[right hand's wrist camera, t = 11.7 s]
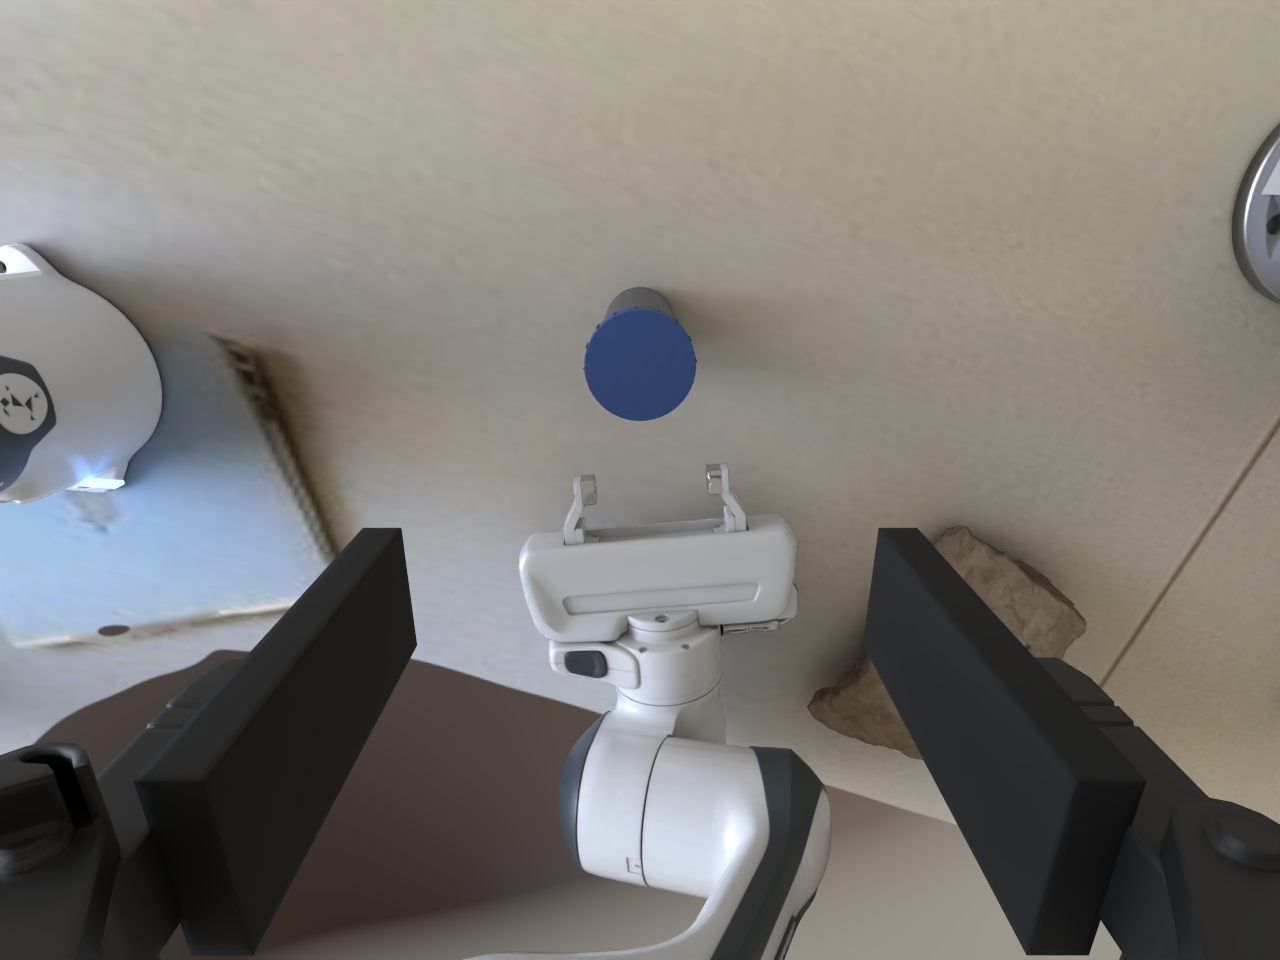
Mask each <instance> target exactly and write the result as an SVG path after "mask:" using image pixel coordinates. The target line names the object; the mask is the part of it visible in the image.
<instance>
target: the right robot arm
mask: <svg viewBox="0 0 1280 960" xmlns="http://www.w3.org/2000/svg"><path fill="white" fill-rule="evenodd" d="M1232 240H1233V247H1234V252H1235V256H1236V259H1237V262H1238V264H1239V267H1240V269H1241V271H1242V273H1243V274H1244V276H1245V277H1246V279H1247V280H1248V282H1249V283H1250V284H1251V285H1252V286H1253V287H1254V288H1255V289H1256V290H1257V291H1258V292H1260V293H1261V294H1262V295H1264V296H1265V297H1267V298H1269V299H1270V300H1272V301H1275V302H1277V303H1279V304H1280V124H1279V125H1278V126H1277V127H1276V128H1275V129H1274V130H1273V132H1272V133H1271V134H1270V135H1269V136H1268V137H1267V139H1266V140H1265V142H1264V143H1263V144H1262V146H1261V147H1260V148H1259V150H1258V152H1257V153H1256V155H1255V156H1254V158H1253V160H1252V161H1251V163H1250V165H1249V167H1248V169H1247V171H1246V173H1245V176H1244V178H1243V180H1242V183H1241V185H1240V188H1239V191H1238V194H1237V198H1236V202H1235V206H1234V212H1233V220H1232ZM416 646H417V641H416V634H415V626H414V619H413V612H412V604H411V597H410V589H409V582H408V574H407V567H406V560H405V552H404V545H403V537H402V530H401V528H362V530H361V531H360V532H359V533H358V534H357V535H356V536H355V537H354V538H353V540H352V541H351V542H350V543H349V544H348V545H347V546H346V547H345V548H344V549H343V551H342V552H341V553H340V554H339V555H338V556H337V557H336V558H335V559H334V560H333V562H332V563H331V564H330V565H329V566H328V567H327V568H326V569H325V570H324V571H323V573H322V574H321V575H320V576H319V577H318V578H317V579H316V580H315V581H314V582H313V584H312V585H311V586H310V587H309V588H308V589H307V590H306V591H305V592H304V593H303V595H302V596H301V597H300V598H299V599H298V600H297V601H296V602H295V603H294V604H293V606H292V607H291V608H290V609H289V610H288V611H287V612H286V613H285V614H284V616H283V617H282V618H281V619H280V620H279V621H278V622H277V623H276V624H275V625H274V627H273V628H272V629H271V630H270V631H269V632H268V633H267V634H266V635H265V636H264V638H263V639H262V640H261V641H260V642H259V643H258V644H257V645H256V646H255V647H254V649H253V650H252V651H251V652H250V653H249V654H248V655H247V656H246V657H245V658H244V660H222V661H220V662H219V663H217V664H216V665H214V666H212V667H211V668H209V669H207V670H206V671H204V672H203V673H201V674H199V675H198V676H196V677H194V678H193V679H191V680H190V681H189V682H188V683H187V684H186V685H185V686H184V687H183V688H182V689H181V690H180V691H179V692H178V693H177V694H176V695H175V696H174V697H173V698H172V699H171V700H170V701H169V702H168V703H167V708H166V709H161V710H160V711H159V712H158V713H157V714H156V715H155V716H154V717H153V719H151V721H150V722H149V723H148V724H147V728H146V729H142V730H141V731H140V732H139V733H138V734H137V735H136V736H135V737H134V738H133V739H132V740H131V741H130V742H129V743H128V744H127V745H126V746H125V747H124V748H123V749H122V750H121V751H120V752H119V753H118V754H117V755H116V756H115V757H114V758H113V759H112V760H111V761H110V762H109V763H108V764H107V765H106V766H105V767H104V768H103V769H102V770H101V771H100V772H99V773H98V774H97V775H96V776H95V774H94V772H93V769H92V766H91V763H90V760H89V758H88V755H87V752H86V751H85V750H84V749H82V748H81V747H79V746H78V745H76V744H75V743H65V742H48V743H42V744H37V745H31V746H25V747H23V748H20V749H17V750H14V751H11V752H8V753H5V754H2V755H0V960H161V959H160V957H159V954H160V952H161V950H162V949H163V947H164V946H165V944H166V943H167V941H168V940H169V938H170V937H171V935H172V934H173V932H174V931H175V929H176V928H177V926H178V925H179V923H181V926H182V929H183V932H184V935H185V938H186V941H187V944H188V947H189V950H190V953H191V955H254V953H255V951H256V949H257V947H258V945H259V943H260V942H261V940H262V938H263V936H264V934H265V932H266V930H267V928H268V926H269V925H270V923H271V921H272V919H273V917H274V915H275V913H276V911H277V909H278V908H279V906H280V904H281V902H282V900H283V898H284V896H285V894H286V892H287V890H288V889H289V887H290V885H291V883H292V881H293V879H294V877H295V875H296V873H297V871H298V870H299V868H300V866H301V864H302V862H303V860H304V858H305V856H306V854H307V853H308V851H309V849H310V847H311V845H312V843H313V841H314V839H315V837H316V836H317V834H318V832H319V830H320V828H321V826H322V824H323V822H324V820H325V818H326V817H327V815H328V813H329V811H330V809H331V807H332V805H333V803H334V801H335V800H336V798H337V796H338V794H339V792H340V790H341V788H342V786H343V784H344V782H345V781H346V779H347V777H348V775H349V773H350V771H351V769H352V767H353V765H354V764H355V762H356V760H357V758H358V756H359V754H360V752H361V750H362V748H363V746H364V745H365V743H366V741H367V739H368V737H369V735H370V733H371V731H372V729H373V728H374V726H375V724H376V722H377V720H378V718H379V716H380V714H381V712H382V711H383V709H384V707H385V705H386V703H387V701H388V699H389V697H390V695H391V693H392V692H393V690H394V688H395V686H396V684H397V682H398V680H399V678H400V676H401V675H402V673H403V671H404V669H405V667H406V665H407V663H408V661H409V659H410V658H411V656H412V654H413V652H414V650H415V648H416ZM863 646H864V648H865V650H866V652H867V654H868V656H869V658H870V659H871V661H872V663H873V665H874V667H875V669H876V671H877V673H878V675H879V676H880V678H881V680H882V682H883V684H884V686H885V688H886V690H887V692H888V694H889V695H890V697H891V699H892V701H893V703H894V705H895V707H896V709H897V711H898V712H899V714H900V716H901V718H902V720H903V722H904V724H905V726H906V728H907V730H908V731H909V733H910V735H911V737H912V739H913V741H914V743H915V745H916V747H917V748H918V750H919V752H920V754H921V756H922V758H923V760H924V762H925V764H926V765H927V767H928V769H929V771H930V773H931V775H932V777H933V779H934V781H935V783H936V784H937V786H938V788H939V790H940V792H941V794H942V796H943V798H944V800H945V801H946V803H947V805H948V807H949V809H950V811H951V813H952V815H953V817H954V819H955V820H956V822H957V824H958V826H959V828H960V830H961V832H962V834H963V836H964V837H965V839H966V841H967V843H968V845H969V847H970V849H971V851H972V853H973V855H974V856H975V858H976V860H977V862H978V864H979V866H980V868H981V870H982V872H983V873H984V875H985V877H986V879H987V881H988V883H989V885H990V887H991V889H992V890H993V892H994V894H995V896H996V898H997V900H998V902H999V904H1000V906H1001V908H1002V909H1003V911H1004V913H1005V915H1006V917H1007V919H1008V921H1009V923H1010V925H1011V926H1012V928H1013V930H1014V932H1015V934H1016V936H1017V938H1018V940H1019V942H1020V944H1021V945H1022V947H1023V949H1024V951H1025V953H1026V955H1089V953H1090V950H1091V947H1092V944H1093V941H1094V938H1095V935H1096V932H1097V929H1098V926H1099V923H1100V920H1101V921H1102V922H1103V924H1104V925H1105V927H1106V928H1107V930H1108V932H1109V933H1110V935H1111V936H1112V938H1113V939H1114V941H1115V942H1116V944H1117V945H1118V947H1119V948H1120V950H1121V951H1122V954H1121V956H1120V959H1119V960H1280V824H1278V823H1276V822H1275V821H1273V820H1271V819H1270V818H1268V817H1266V816H1264V815H1263V814H1261V813H1258V812H1256V811H1253V810H1251V809H1248V808H1246V807H1243V806H1241V805H1238V804H1235V803H1233V802H1229V801H1223V800H1218V799H1213V798H1209V797H1208V796H1207V795H1206V794H1205V793H1204V792H1203V791H1202V790H1201V789H1200V788H1199V787H1198V786H1197V785H1196V784H1195V783H1194V782H1193V781H1192V780H1191V779H1190V778H1189V777H1188V776H1187V775H1186V774H1185V773H1184V772H1183V771H1182V770H1181V769H1180V768H1179V767H1178V766H1177V765H1176V764H1175V763H1174V762H1173V761H1172V760H1171V759H1170V758H1169V757H1168V756H1167V755H1166V754H1165V753H1164V752H1163V751H1162V750H1161V749H1160V748H1159V747H1158V746H1157V745H1156V744H1155V743H1154V742H1153V741H1152V740H1151V739H1150V738H1149V737H1148V736H1147V734H1146V733H1145V732H1144V731H1143V730H1142V729H1141V728H1140V727H1135V726H1134V724H1133V722H1134V721H1133V720H1132V719H1131V718H1130V717H1129V716H1128V715H1127V714H1126V713H1125V712H1124V711H1123V710H1122V709H1121V708H1120V707H1119V706H1114V701H1113V700H1112V699H1111V698H1110V697H1109V696H1108V695H1107V694H1106V693H1105V692H1104V691H1103V690H1102V689H1101V688H1100V687H1099V686H1098V685H1097V684H1096V683H1095V682H1094V681H1093V680H1092V679H1091V678H1090V677H1088V676H1087V675H1085V674H1083V673H1082V672H1080V671H1079V670H1077V669H1075V668H1074V667H1072V666H1070V665H1069V664H1067V663H1065V662H1064V661H1062V660H1061V659H1059V658H1057V657H1034V656H1033V655H1032V654H1031V653H1030V652H1029V651H1028V650H1027V649H1026V647H1025V646H1024V645H1023V644H1022V643H1021V642H1020V641H1019V640H1018V639H1017V638H1016V636H1015V635H1014V634H1013V633H1012V632H1011V631H1010V630H1009V629H1008V628H1007V627H1006V625H1005V624H1004V623H1003V622H1002V621H1001V620H1000V619H999V618H998V617H997V616H996V614H995V613H994V612H993V611H992V610H991V609H990V608H989V607H988V606H987V604H986V603H985V602H984V601H983V600H982V599H981V598H980V597H979V596H978V595H977V593H976V592H975V591H974V590H973V589H972V588H971V587H970V586H969V585H968V584H967V582H966V581H965V580H964V579H963V578H962V577H961V576H960V575H959V574H958V573H957V571H956V570H955V569H954V568H953V567H952V566H951V565H950V564H949V563H948V562H947V560H946V559H945V558H944V557H943V556H942V555H941V554H940V553H939V552H938V551H937V549H936V548H935V547H934V546H933V545H932V544H931V543H930V542H929V541H928V540H927V538H926V537H925V536H924V535H923V534H922V533H921V532H920V531H919V530H918V528H879V530H878V537H877V545H876V552H875V560H874V567H873V574H872V582H871V589H870V597H869V604H868V612H867V619H866V626H865V634H864V641H863Z"/></svg>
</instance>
